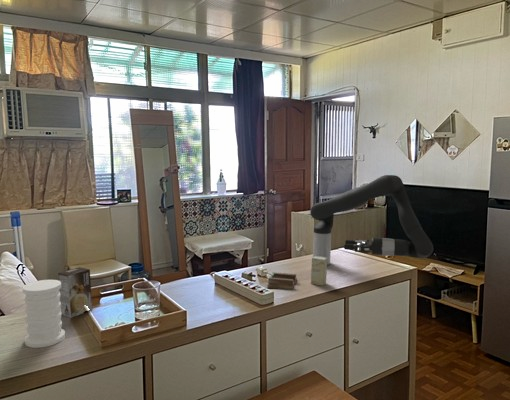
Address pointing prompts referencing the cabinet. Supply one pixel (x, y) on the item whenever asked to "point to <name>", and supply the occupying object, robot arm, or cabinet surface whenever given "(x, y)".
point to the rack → (282, 281)
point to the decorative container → (43, 313)
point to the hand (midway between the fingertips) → (344, 244)
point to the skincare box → (319, 270)
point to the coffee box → (75, 291)
